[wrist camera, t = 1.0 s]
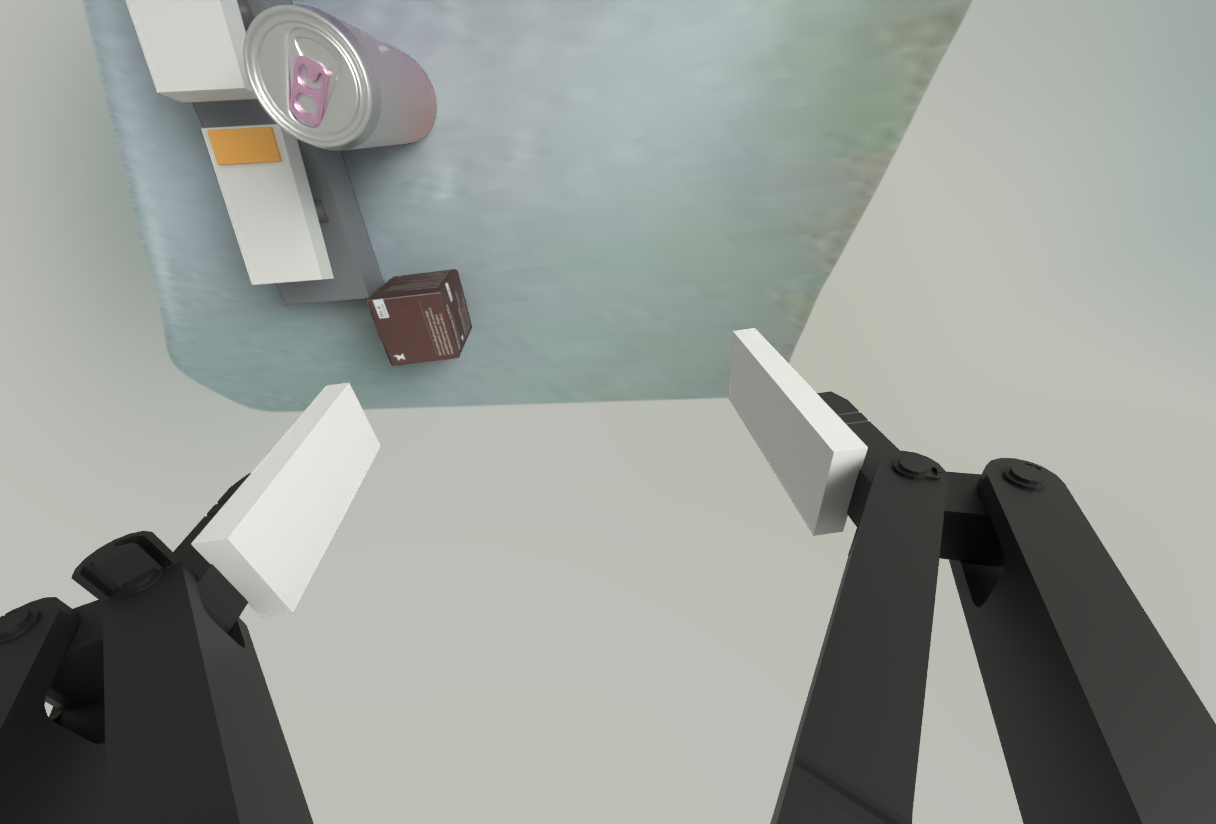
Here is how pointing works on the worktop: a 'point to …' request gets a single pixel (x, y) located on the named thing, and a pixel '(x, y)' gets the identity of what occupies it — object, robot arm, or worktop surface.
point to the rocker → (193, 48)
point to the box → (421, 317)
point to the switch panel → (329, 193)
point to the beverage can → (335, 81)
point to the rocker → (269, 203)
